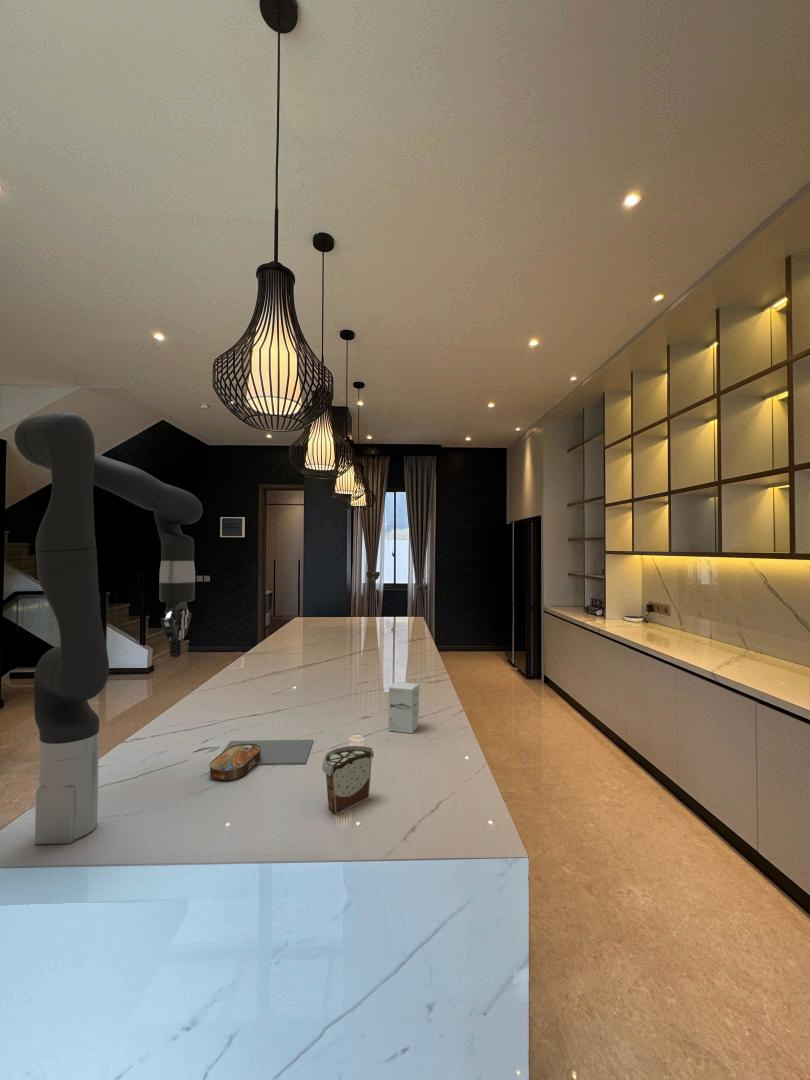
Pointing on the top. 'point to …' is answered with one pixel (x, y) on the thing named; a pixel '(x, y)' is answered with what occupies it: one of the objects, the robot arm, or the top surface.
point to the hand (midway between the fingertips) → (176, 656)
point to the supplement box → (403, 707)
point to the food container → (347, 776)
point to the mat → (280, 751)
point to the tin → (235, 761)
